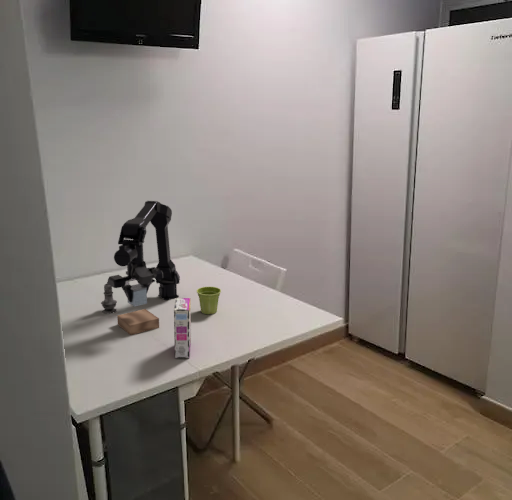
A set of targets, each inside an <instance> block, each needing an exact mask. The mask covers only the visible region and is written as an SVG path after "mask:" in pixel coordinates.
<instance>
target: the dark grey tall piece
mask: <svg viewBox="0 0 512 500" xmlns="http://www.w3.org/2000/svg"><path fill="white" fill-rule="evenodd" d="M103 286H104V287H103V289H104V292H103V293H102V294H103V295H104V300H102V301H101V302H100V304H101V307H102V308H103V310H102V313H103V312H104V313H103V314H107V313H109V314H114V313H116V312H117V309H116V305H117V302H118V301H117V300H115V299H114V297H113V295H114V292H113V287H112V286H110V285H109V284H108V281H106V283H105V284H104V285H103ZM113 312H114V313H113Z"/></svg>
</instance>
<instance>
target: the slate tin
mask: <svg viewBox="0 0 512 500" xmlns="http://www.w3.org/2000/svg"><path fill="white" fill-rule="evenodd" d="M130 285H131V286H132V287H131V298H132V300H131V302H129V300H128V299H127V304H129V305H131V306H132V307H137V306H143V305H146V304H148V295H147V294H148V292H147V291H146V289H147V287H145V286H143V285H140V284H139V283H136V284H130Z"/></svg>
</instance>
